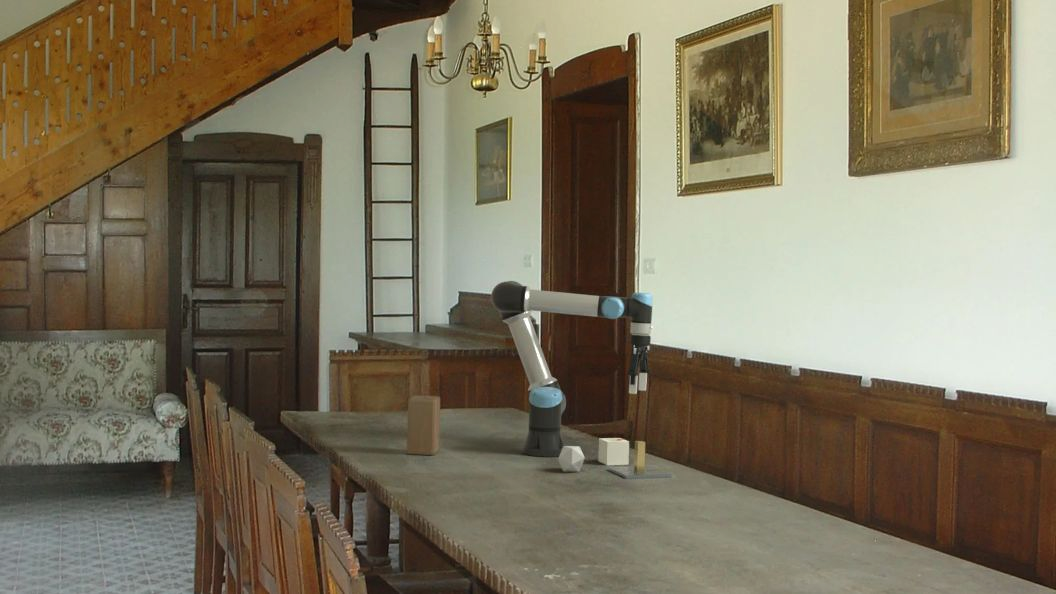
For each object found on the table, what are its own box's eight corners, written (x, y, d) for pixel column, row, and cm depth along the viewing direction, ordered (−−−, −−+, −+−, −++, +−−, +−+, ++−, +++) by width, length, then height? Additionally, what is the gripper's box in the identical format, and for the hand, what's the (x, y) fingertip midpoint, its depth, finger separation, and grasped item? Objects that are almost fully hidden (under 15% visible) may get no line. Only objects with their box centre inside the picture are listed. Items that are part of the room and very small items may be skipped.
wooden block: (439, 451, 395) (440, 396, 395) (434, 456, 385) (435, 399, 385) (411, 450, 396) (413, 394, 396) (406, 454, 386) (407, 397, 386)
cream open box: (606, 465, 377) (607, 441, 377) (598, 461, 384) (599, 437, 384) (628, 464, 379) (629, 440, 379) (619, 460, 387) (620, 437, 387)
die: (575, 476, 358) (591, 451, 361) (552, 461, 359) (568, 436, 362) (573, 481, 366) (589, 456, 369) (551, 466, 367) (567, 441, 370)
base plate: (626, 478, 353) (627, 446, 353) (607, 469, 368) (608, 438, 368) (671, 477, 358) (672, 445, 358) (651, 468, 373) (652, 437, 373)
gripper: (641, 336, 392) (638, 395, 393) (658, 333, 416) (655, 389, 416) (621, 335, 395) (618, 394, 396) (639, 332, 418) (636, 388, 419)
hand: (637, 392), depth 406 cm, fingers open, 13 cm apart
